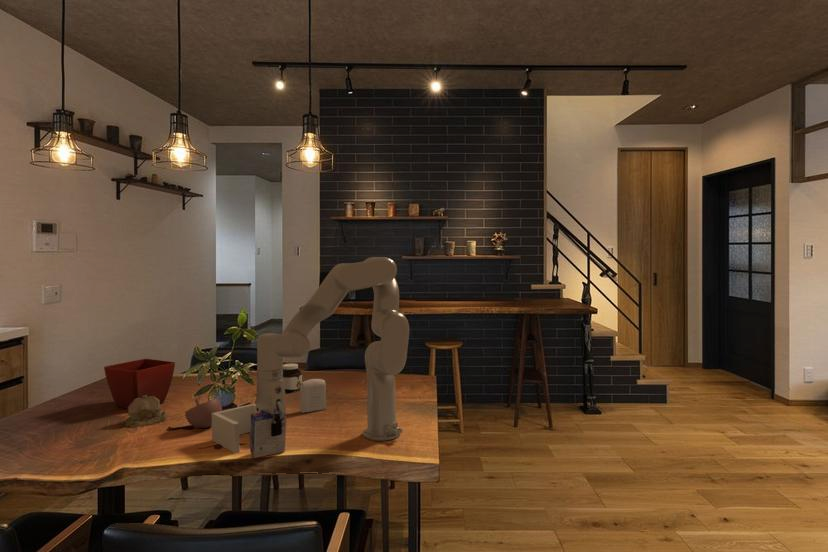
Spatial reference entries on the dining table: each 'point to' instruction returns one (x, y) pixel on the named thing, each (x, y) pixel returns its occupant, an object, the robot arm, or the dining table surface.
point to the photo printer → (312, 395)
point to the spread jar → (291, 377)
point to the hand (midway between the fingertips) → (269, 431)
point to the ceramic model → (145, 412)
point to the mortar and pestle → (203, 412)
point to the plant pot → (139, 380)
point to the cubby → (232, 426)
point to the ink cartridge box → (265, 435)
